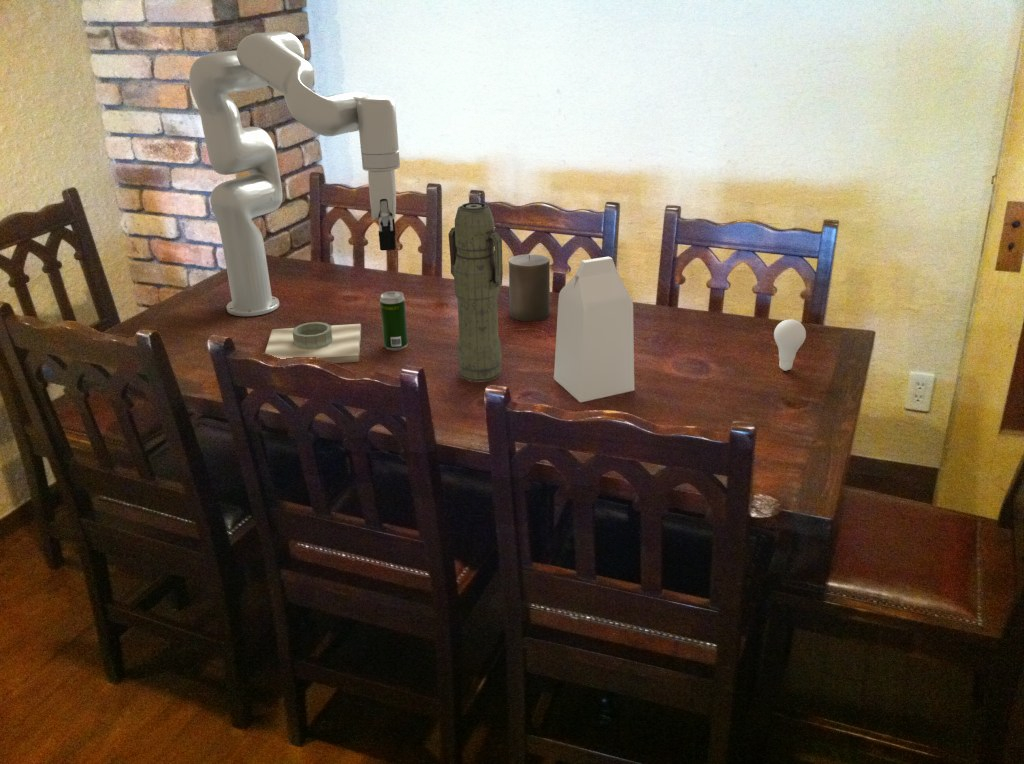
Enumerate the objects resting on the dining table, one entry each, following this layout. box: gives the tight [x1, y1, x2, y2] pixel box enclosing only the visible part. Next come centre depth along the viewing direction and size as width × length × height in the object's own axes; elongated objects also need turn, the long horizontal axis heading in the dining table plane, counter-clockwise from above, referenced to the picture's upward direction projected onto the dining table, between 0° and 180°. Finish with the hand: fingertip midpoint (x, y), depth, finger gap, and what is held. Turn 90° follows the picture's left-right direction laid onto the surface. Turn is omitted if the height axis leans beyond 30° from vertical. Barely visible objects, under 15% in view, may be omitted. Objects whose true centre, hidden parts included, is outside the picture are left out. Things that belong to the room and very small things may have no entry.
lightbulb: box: [773, 318, 807, 372], centre depth 174 cm, size 6×6×11 cm
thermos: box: [448, 202, 504, 383], centre depth 170 cm, size 9×12×35 cm
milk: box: [553, 256, 635, 403], centre depth 167 cm, size 12×12×26 cm
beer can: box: [379, 290, 409, 351], centre depth 189 cm, size 5×5×12 cm
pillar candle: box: [508, 253, 551, 322], centre depth 204 cm, size 10×10×15 cm
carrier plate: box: [264, 321, 362, 364], centre depth 190 cm, size 18×20×4 cm
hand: (388, 243), depth 181 cm, fingers open, 9 cm apart
